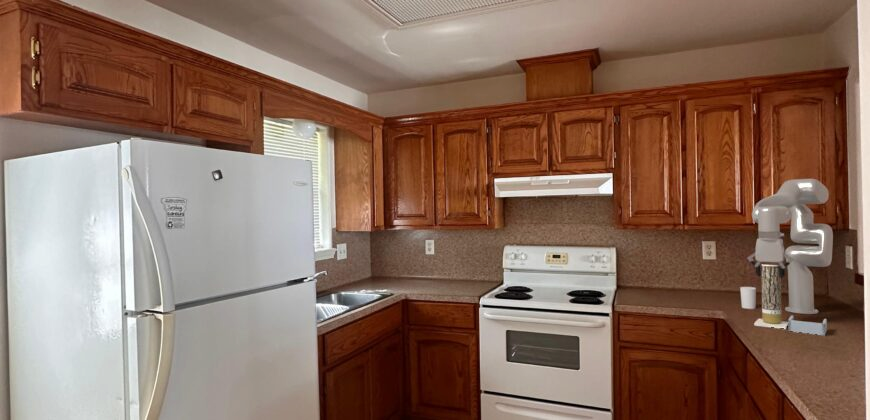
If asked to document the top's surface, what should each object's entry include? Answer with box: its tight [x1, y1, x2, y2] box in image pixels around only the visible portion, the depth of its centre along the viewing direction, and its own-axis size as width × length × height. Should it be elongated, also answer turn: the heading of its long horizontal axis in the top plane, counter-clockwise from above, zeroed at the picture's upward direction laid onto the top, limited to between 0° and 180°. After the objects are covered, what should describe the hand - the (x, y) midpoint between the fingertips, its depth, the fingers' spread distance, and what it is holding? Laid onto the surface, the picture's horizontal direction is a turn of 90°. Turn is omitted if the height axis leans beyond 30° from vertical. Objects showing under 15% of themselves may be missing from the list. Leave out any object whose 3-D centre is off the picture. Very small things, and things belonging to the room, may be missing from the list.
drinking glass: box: [739, 286, 757, 310], centre depth 241 cm, size 7×7×10 cm
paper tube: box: [760, 262, 783, 324], centre depth 206 cm, size 7×7×25 cm
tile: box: [753, 318, 788, 330], centre depth 206 cm, size 11×11×1 cm
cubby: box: [787, 315, 828, 336], centre depth 195 cm, size 11×12×4 cm
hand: (770, 276), depth 206 cm, fingers open, 7 cm apart
